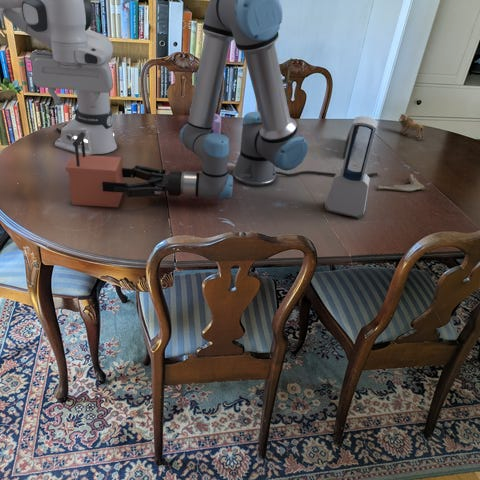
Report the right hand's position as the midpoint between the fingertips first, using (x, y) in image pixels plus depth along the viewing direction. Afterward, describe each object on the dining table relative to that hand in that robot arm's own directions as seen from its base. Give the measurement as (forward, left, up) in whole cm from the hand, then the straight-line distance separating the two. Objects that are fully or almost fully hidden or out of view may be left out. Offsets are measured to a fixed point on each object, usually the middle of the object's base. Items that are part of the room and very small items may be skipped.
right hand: (106, 178), depth 139 cm
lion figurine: (-146, -20, -7) cm, 148 cm away
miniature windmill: (-90, -46, -7) cm, 101 cm away
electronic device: (-68, +30, -7) cm, 75 cm away
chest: (+2, -1, -7) cm, 7 cm away
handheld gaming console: (-105, -13, -7) cm, 106 cm away
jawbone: (-101, +20, -7) cm, 103 cm away
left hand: (+6, -3, +22) cm, 23 cm away
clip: (-53, -48, -7) cm, 72 cm away
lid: (+3, -1, +4) cm, 5 cm away
